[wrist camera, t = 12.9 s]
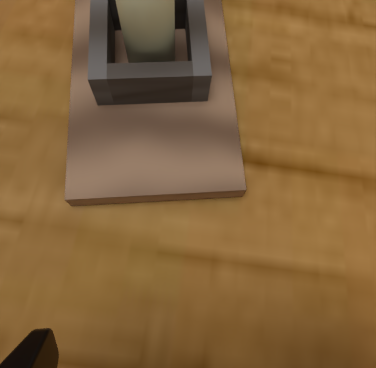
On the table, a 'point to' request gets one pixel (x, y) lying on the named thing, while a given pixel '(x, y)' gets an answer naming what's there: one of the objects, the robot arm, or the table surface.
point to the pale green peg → (148, 29)
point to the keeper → (151, 112)
